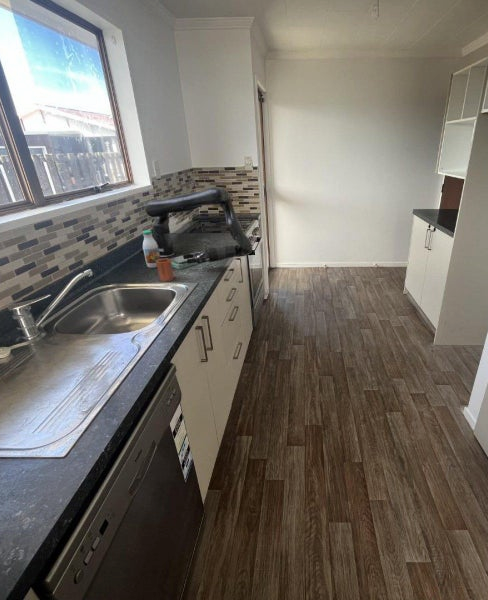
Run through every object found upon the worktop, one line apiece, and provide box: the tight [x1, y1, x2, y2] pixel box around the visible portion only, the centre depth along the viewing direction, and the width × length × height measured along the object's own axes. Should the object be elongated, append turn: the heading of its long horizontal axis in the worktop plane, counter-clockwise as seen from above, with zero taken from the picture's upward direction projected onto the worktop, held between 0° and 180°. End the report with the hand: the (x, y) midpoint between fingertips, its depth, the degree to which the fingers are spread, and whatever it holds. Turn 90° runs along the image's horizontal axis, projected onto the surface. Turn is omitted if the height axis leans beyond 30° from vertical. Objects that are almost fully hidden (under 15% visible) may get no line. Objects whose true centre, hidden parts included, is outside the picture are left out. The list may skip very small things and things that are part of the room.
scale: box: [171, 261, 199, 270], centre depth 187 cm, size 12×12×3 cm
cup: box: [156, 258, 175, 283], centre depth 165 cm, size 7×7×10 cm
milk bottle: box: [142, 229, 162, 269], centre depth 182 cm, size 8×8×20 cm
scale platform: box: [169, 254, 191, 264], centre depth 186 cm, size 10×10×1 cm
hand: (185, 259), depth 168 cm, fingers open, 8 cm apart
